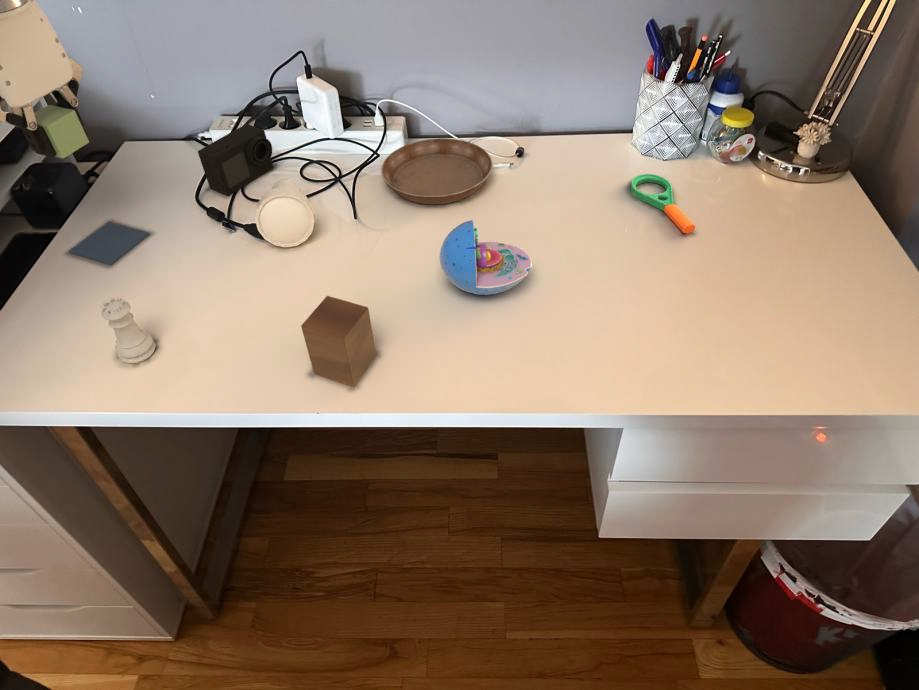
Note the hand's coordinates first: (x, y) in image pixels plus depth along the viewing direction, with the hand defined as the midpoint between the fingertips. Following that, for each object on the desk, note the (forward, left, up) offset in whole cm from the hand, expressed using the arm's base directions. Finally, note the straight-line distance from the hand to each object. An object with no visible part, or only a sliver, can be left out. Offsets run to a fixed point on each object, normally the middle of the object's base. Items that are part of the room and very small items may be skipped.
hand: (61, 143), depth 88 cm
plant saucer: (+33, -38, -16) cm, 53 cm away
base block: (-8, -45, -16) cm, 48 cm away
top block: (0, 0, -1) cm, 1 cm away
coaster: (0, 0, -16) cm, 16 cm away
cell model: (+12, -55, -16) cm, 59 cm away
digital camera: (+22, -8, -16) cm, 28 cm away
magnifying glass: (+39, -73, -16) cm, 84 cm away
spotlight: (+13, -23, -16) cm, 31 cm away
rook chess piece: (-16, -20, -16) cm, 30 cm away
